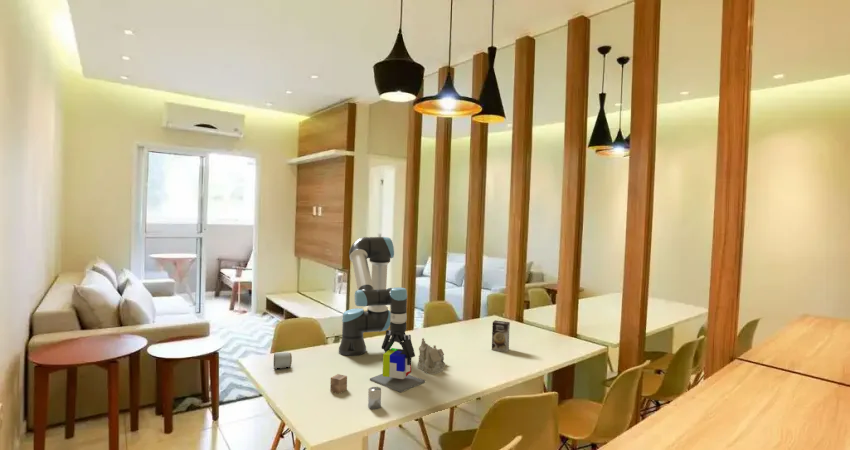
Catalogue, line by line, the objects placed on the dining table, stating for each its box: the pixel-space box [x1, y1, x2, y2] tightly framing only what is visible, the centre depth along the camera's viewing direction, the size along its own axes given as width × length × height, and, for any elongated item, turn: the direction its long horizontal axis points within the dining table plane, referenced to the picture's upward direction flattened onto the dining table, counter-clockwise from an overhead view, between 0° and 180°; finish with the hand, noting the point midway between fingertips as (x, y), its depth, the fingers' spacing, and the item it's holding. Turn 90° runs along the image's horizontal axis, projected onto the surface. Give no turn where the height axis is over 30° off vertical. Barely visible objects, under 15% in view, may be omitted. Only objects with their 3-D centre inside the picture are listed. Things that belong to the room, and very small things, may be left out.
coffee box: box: [491, 320, 511, 353], centre depth 245 cm, size 9×6×16 cm
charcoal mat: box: [369, 373, 426, 393], centre depth 195 cm, size 20×16×1 cm
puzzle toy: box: [382, 347, 412, 379], centre depth 195 cm, size 10×10×10 cm
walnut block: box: [330, 373, 348, 394], centre depth 184 cm, size 5×5×6 cm
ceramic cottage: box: [416, 337, 447, 375], centre depth 215 cm, size 16×16×15 cm
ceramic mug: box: [273, 351, 293, 370], centre depth 211 cm, size 11×8×8 cm
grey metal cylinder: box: [367, 386, 382, 411], centre depth 169 cm, size 5×5×7 cm
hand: (397, 368), depth 195 cm, fingers closed on puzzle toy, 12 cm apart
